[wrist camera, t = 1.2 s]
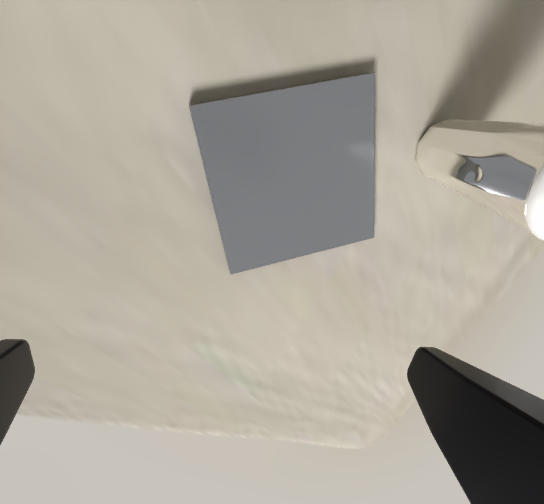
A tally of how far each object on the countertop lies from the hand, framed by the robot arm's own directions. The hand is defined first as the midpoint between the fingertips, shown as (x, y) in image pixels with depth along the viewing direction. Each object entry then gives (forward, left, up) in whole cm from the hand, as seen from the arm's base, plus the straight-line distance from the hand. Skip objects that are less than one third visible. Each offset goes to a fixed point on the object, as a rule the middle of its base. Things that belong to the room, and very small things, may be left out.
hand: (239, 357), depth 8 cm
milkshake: (+13, +6, -12) cm, 18 cm away
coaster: (+4, +2, -11) cm, 12 cm away
